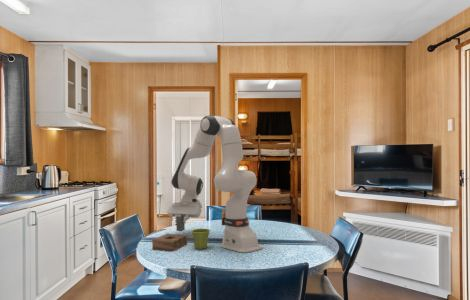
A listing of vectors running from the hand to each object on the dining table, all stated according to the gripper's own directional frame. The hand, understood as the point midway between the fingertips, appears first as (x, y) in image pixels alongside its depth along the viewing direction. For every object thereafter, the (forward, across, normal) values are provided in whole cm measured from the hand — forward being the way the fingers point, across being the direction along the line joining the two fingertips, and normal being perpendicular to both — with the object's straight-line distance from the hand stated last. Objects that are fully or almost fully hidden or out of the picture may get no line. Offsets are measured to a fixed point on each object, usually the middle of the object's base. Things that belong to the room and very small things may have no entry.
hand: (179, 222), depth 185 cm
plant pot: (+16, +20, -3) cm, 26 cm away
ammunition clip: (-25, +13, +38) cm, 47 cm away
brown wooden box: (+18, +4, -5) cm, 20 cm away
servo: (+3, 0, +4) cm, 5 cm away
